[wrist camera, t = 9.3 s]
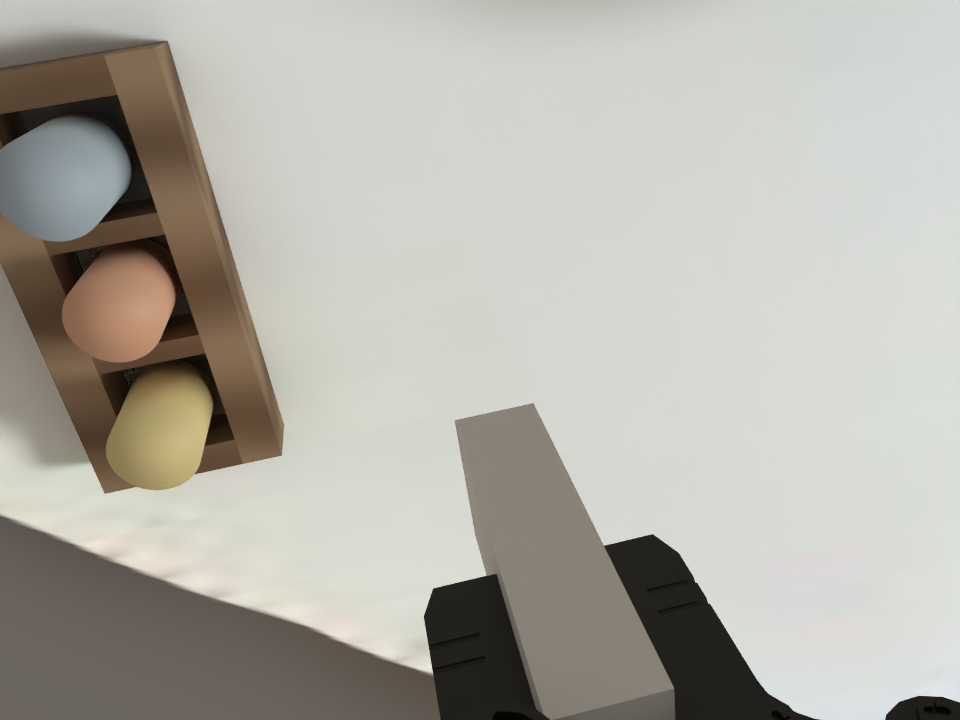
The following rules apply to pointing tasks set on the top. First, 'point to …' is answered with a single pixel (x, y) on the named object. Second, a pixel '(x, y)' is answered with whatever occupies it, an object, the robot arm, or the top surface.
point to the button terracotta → (123, 301)
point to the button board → (171, 211)
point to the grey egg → (64, 176)
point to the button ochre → (162, 426)
